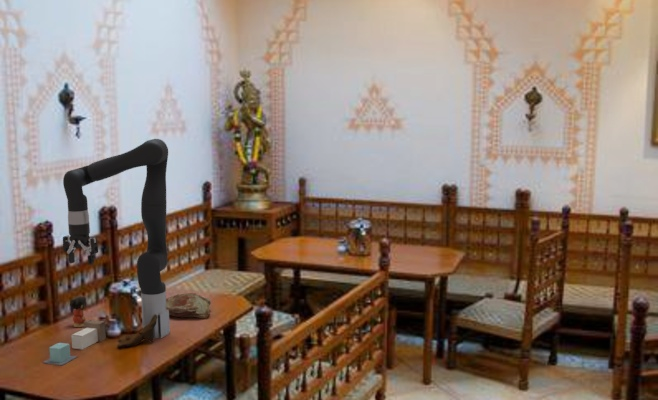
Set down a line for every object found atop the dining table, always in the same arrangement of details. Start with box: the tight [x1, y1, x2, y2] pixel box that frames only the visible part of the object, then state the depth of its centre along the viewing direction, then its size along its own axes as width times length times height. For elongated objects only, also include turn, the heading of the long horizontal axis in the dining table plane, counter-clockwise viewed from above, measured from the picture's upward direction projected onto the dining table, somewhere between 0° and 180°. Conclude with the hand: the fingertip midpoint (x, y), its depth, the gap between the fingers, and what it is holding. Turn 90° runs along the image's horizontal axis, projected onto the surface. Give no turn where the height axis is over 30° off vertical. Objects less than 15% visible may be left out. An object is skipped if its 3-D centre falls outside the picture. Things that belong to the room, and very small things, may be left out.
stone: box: [166, 292, 212, 319], centre depth 302 cm, size 24×18×6 cm
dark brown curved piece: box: [116, 315, 157, 348], centre depth 267 cm, size 8×10×15 cm
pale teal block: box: [49, 342, 71, 363], centre depth 251 cm, size 4×5×5 cm
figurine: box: [69, 295, 87, 328], centre depth 287 cm, size 6×6×12 cm
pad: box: [42, 355, 78, 366], centre depth 252 cm, size 8×8×1 cm
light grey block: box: [70, 319, 107, 350], centre depth 268 cm, size 7×12×7 cm, turn 161°
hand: (81, 263), depth 273 cm, fingers open, 8 cm apart
